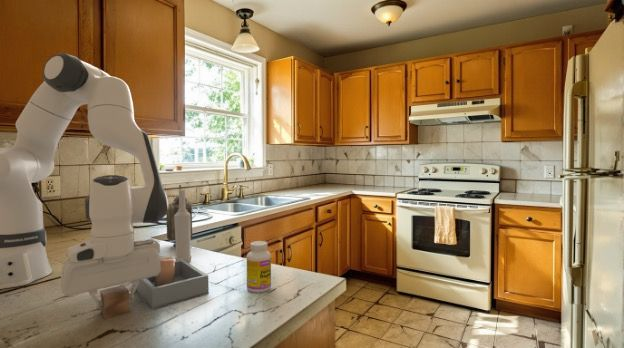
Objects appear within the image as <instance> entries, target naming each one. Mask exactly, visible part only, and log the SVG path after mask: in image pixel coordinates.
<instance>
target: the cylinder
mask: <svg viewBox="0 0 624 348" xmlns="http://www.w3.org/2000/svg"><path fill="white" fill-rule="evenodd" d="M175 258H176V257H171V256H164V257H159V260H160V268H161V271H160V273H159V274H158V276H155V286H156V287H158V286H162V285H166V284H170V283H174V282H175V261H176V260H175Z"/></svg>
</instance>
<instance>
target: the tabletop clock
mask: <svg viewBox="0 0 624 348" xmlns="http://www.w3.org/2000/svg"><path fill="white" fill-rule="evenodd" d="M178 189H179V190H182V184H179V186H178ZM179 190H178V191H179ZM192 203H193V202H192V201H188V199H187V197H185V209H186V210H187V212H188V213H190V240H192V239H193V210H192V209H193V208H192V207H193V205H192ZM178 210H179V195H178V196H176V197H174V199H173V201H172V202H170V203H168V212H167V214H166V215H165V216H166V217H165V219H166V238H167V240H170V241H175V219H174V215H175V214H176V213H177V212H178ZM172 247H173V248H176V241H175V242H174V243H173V245H172Z"/></svg>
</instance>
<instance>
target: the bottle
mask: <svg viewBox="0 0 624 348" xmlns="http://www.w3.org/2000/svg"><path fill="white" fill-rule="evenodd" d="M178 196H179V210H178V212H177V213H176V214H175V215H174V219H175V240H174V241H176V247H175V257H174V258H175V261H178V260H184V261H186V262H188V263H189V264H190V263H191V261H192V254H191V239H190V213H188V212H187V210H186V209H185V198H186V189H181V190H178Z"/></svg>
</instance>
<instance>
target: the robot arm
mask: <svg viewBox="0 0 624 348" xmlns="http://www.w3.org/2000/svg"><path fill="white" fill-rule="evenodd" d="M42 76H43V79H44V81H43V82H42V83H41V84H40V85H39V86H38V88H37V89H35V91H34V93H33V94H32V95H31V97H30V98H29V100H28V102H27V103H26V104H25V106H24V109H22V112H21V113H20V115H19V116H18V118H17V120H16V121H15V128H16V130H17V134H16V139H15V141H14V144H13V145H12V146H11V147H0V290H1V289H2V290H3V289H8V288H14V287H20V286H26V285H29V284H31V283H33V282H34V281H37V280H39V279H43V278H45V277H47V276H49V275H50V274H51V273H52V272H53V269H52V268H51V265H50V262H49V258H48V256H47V250H46V249H47V248H46V246H47V231H46V228H45V226H44V211H43V203H42V201H41V200H39V198H37V196H36V194H35V192H34V189H33V185H32V183H38V182H40V181H43V180H44V179H46V178H48V177H49V176H50V175H52V173H53V172H54V171H55V161H54V158H55V155H56V151H57V149H58V148H57V147H58V145H59V142H60V140H61V138H62V136H63V134H64V133H65V131H66V130H67V127H68V126H69V124H70V122H72V119H73V118H74V116H75V114H76V112H77V110H78V109H79V108H80V107H81V106H83V105H87V123H88V129H89V132H90V134H91V135H92V137H93V138H94V139H96V141H98V142H100V143H101V144H103V145H105V146H107V147H110V148H111V149H112V148H113V149H115V150H120V151H123V152H125V153H128V154H131V155H132V156H133V157H135V158H136V159H137V160H138V163H139V165H140V169H141V173H142V176H143V182H144V185H140V186H139V185H138V186H131V182H130V179H129V178H128V177H126V176H123V175H117V174H113V175H111V174H110V175H107V174H106V175H101V176H97V177H95V178H94V179H92V181H91V184H90V190H89V194H88V195H87V196H86V197H85V198H84V206H85V207H84V208H85V209H84V210H85V219H86V220H87V221H88V222H90V223H91V229H90V231H89V232H90V233H89V237H90V238H89V239H86V240H84V241H82V242H79V243H77V244H74V245H72V246H69V247H68V248H67V249H66V257H67V259H66V260H65V262H64V263H63V265H62V269H61V276H60V291H61V294H63V295H64V296H65V297H70V296H74V295H79V294H83V293H87V292H88V294H89V297H91V298H92V299H93V301H94V306H95V309H99V308H101V307H103V306H104V304H103V299H102V297H100V296H99V297H98V296H97V294H98V290H101V289H107V288H109V287H113V286H119V285H124V284H126V283H127V284H128V283H130V284H131V286H130V288H129V289H128V290H129V297H130V300H134V299H135V292H136V289H137V287H138V285H139V280H141V279H145V278H150V277H154V276H158V274H159V273H160V271H161V268H160V260H159V258H160V251H161V247H160V245H161V244H160V242H159V241H158V240H154V239H153V238H150V239H147V240H138V241H137V240H136V241H135V228H134V226H133V224H137V223H138V224H139V223H140V224H141V223H142V224H156V223H159V222H160V221H161V220H162V219H163V218H165V216H166V214H167V212H168V205H169V200H168V196H167V193H166V191H165V188H164V185H163V183H162V178H161V175H160V172H159V168H158V164H157V160H156V157H155V152H154V149H153V146H152V143H151V139H150V138H149V135H148V133H147V132H146V131H144V130H143V129H141V128H140V127H139V126H138V125H137V122H136V120H135V111H134V103H133V99H132V93H131V90H130V87H129V85H128V84H127V82H125V81H124V80H123V79H121V78H119V77H116V76H111V75H110V74H109V73H107V72H105V71H104V70H102V69H101V68H99V67H96V66H94V65H93V64H90V63H87V62H86V61H83V60H81V59H79V57H77V56H74V55H71V54H69V53H64V52H60V53H57V54H54V55H52V56H51V57H49V58H48V60H47V61H46V62H45V64H44V66H43V69H42Z"/></svg>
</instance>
